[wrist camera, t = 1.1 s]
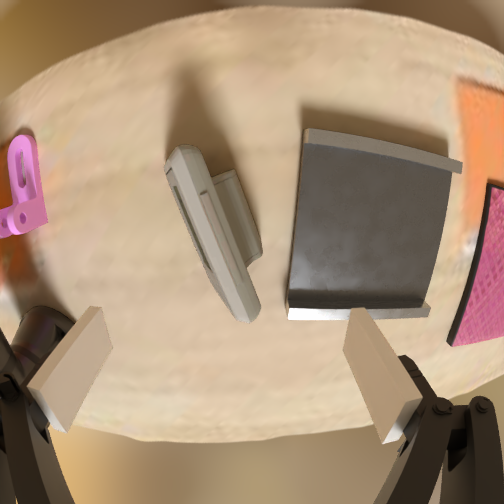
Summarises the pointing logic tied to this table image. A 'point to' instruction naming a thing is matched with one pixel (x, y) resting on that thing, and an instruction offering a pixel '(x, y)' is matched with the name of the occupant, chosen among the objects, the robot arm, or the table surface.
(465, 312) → the laptop bag
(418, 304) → the rail plate
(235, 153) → the table surface
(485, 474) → the robot arm
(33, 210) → the bracket
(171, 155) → the digital clock
